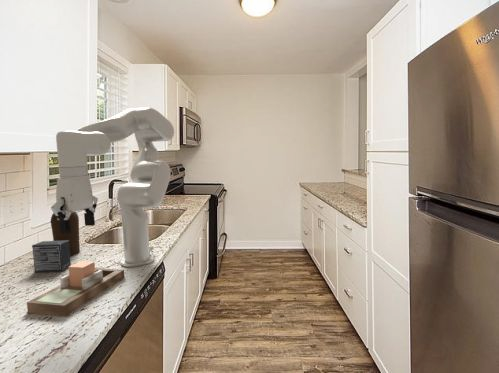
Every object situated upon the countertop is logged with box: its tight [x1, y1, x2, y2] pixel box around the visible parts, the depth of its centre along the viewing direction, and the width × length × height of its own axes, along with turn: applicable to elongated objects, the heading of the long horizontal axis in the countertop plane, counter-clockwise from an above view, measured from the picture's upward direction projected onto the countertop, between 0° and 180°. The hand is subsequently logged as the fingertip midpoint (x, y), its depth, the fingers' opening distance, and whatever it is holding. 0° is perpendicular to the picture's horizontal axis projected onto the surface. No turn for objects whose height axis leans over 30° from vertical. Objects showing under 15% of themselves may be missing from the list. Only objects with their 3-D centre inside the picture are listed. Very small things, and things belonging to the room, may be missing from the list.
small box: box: [31, 240, 72, 273], centre depth 117 cm, size 11×6×10 cm, turn 92°
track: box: [26, 267, 125, 317], centre depth 95 cm, size 26×12×6 cm, turn 168°
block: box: [68, 260, 96, 287], centre depth 95 cm, size 5×5×6 cm
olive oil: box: [50, 211, 81, 256], centre depth 136 cm, size 11×11×25 cm
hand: (78, 229), depth 94 cm, fingers open, 9 cm apart
